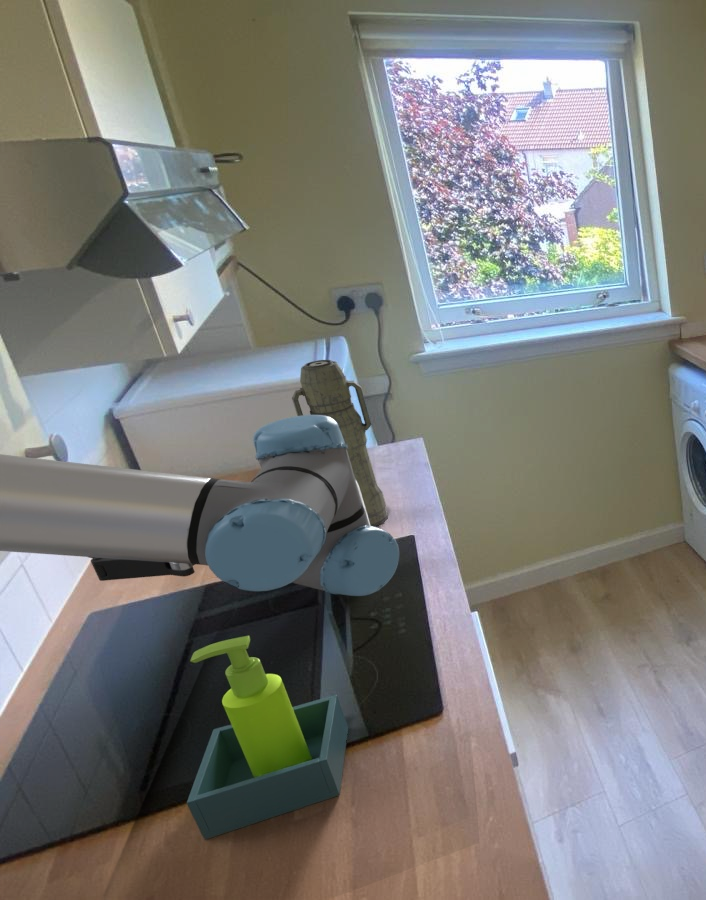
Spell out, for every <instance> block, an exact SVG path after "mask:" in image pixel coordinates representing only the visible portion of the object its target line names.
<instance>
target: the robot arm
mask: <svg viewBox="0 0 706 900" xmlns="http://www.w3.org/2000/svg"><path fill="white" fill-rule="evenodd" d="M252 441H253V446H254V449H255V453H256V454H255V457H254V458H255V460H257V461H258V463H259V466H260V470H259V471H258V472H257V473H256V474H255V476H254V478H253V479H252V480H251V481H243V480H231V479H221V478H213V477H205V476H195V475H189V474H177V473H171V472H170V473H168V472H160V471H153V470H144V469H143V470H142V469H133V468H127V467H126V468H125V467H116V466H107V465H100V464H99V465H98V464H90V463H89V464H88V463H81V462H72V461H63V460H55V459H46V458H37V457H28V456H20V455H19V456H18V455H11V454H2V453H0V552H7V553H8V552H9V553H25V554H36V555H37V554H40V555H52V556H53V555H54V556H67V557H83V558H85V557H86V558H90V563H91V565H92V568H93V569H94V571H95V574H96V576H97V578H98V580H99V581H100V582H105V581H115V580H116V581H117V580H128V579H129V580H130V579H138V578H139V579H140V578H151V577H152V578H153V577H163V576H174V577H175V576H176V577H189V576H191V575H193V574H194V573H196V571H195V569H194V566H196V565H200V566H208V568H209V569H210V571H211V572H212V574H214V576H215V577H216V578H218V579H219V580H220V581H222V582H224V583H227V584H229V585H230V586H234V587H235V588H237V589H238V590H243V591H248V592H267V591H272V590H277V589H280V588H283V587H285V586H287V585H289V584H296V585H299V586H304V587H308V588H311V589H315V590H320V591H324V592H325V593H328V594H331V595H344V596H350V597H364V596H369V595H372V594H374V593H376V592H378V591H380V590H381V589H382V588H383V587H384V586H386V585H387V584H388V583H389V582H390V581H391V579H392V578H393V576H394V575H395V573H396V570H397V568H398V566H399V560H400V548H399V544H398V542H397V540H396V538H394V537H393V535H392V534H391V533H389V532H388V531H387V530H385V529H382V528H379V527H378V525H377V526H370V525H369V523H368V519H367V515H366V512H365V509H364V507H363V504H362V502H361V498H360V494H359V491H358V487H357V484H356V480H355V477H354V473H353V470H352V466H351V463H350V459H349V455H348V452H347V448H348V446H347V444H345V441H344V439H343V436H342V434H341V431H340V429H339V426H338V424H337V422H336V421H335V420H334V419H332V418H330V417H327V416H323V415H311V414H303V416H297V415H296V416H291V417H286V418H282V419H278V420H275V421H273V422H270V423H269V422H268V423H267V424H265V425H262V426H261V427H260V428H258V429H257V430H256V431H255V432H254V434H253V436H252Z"/></svg>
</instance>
